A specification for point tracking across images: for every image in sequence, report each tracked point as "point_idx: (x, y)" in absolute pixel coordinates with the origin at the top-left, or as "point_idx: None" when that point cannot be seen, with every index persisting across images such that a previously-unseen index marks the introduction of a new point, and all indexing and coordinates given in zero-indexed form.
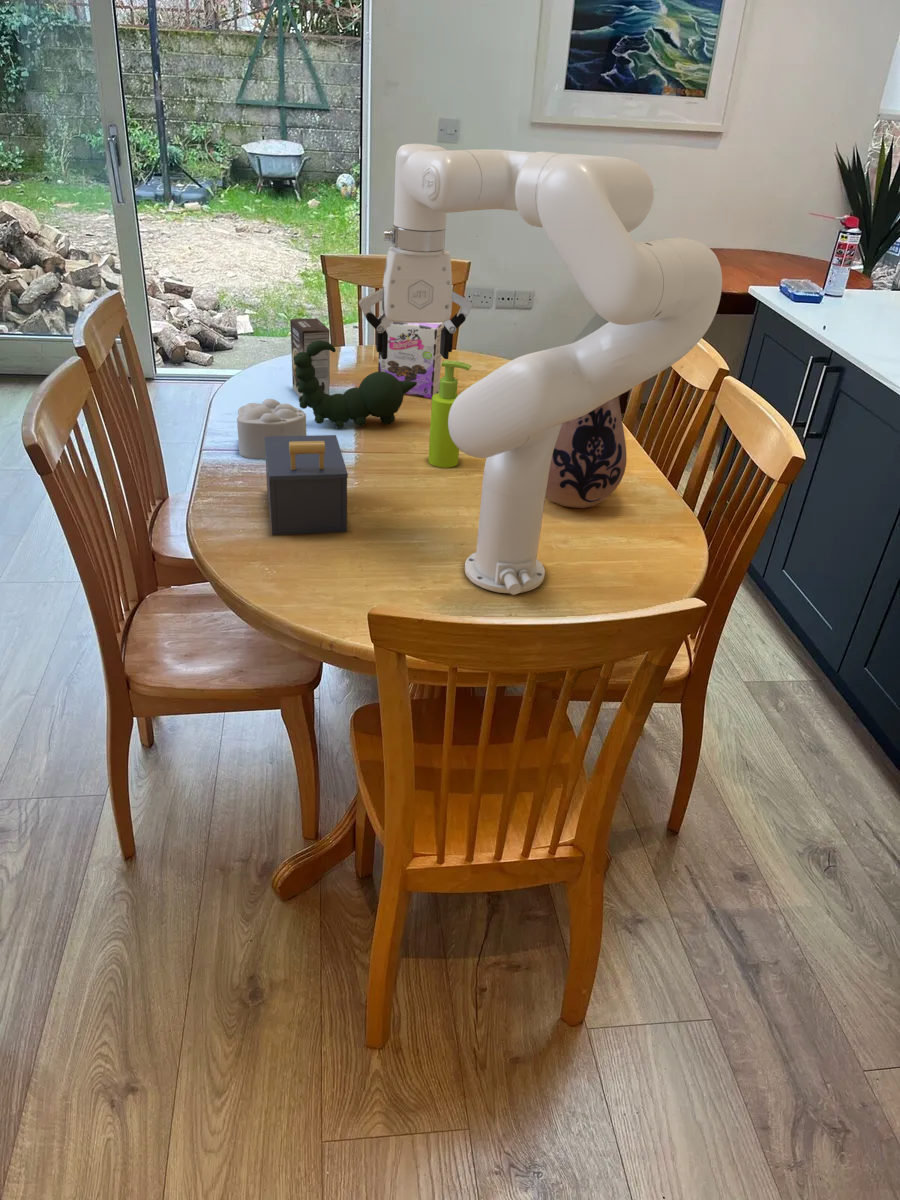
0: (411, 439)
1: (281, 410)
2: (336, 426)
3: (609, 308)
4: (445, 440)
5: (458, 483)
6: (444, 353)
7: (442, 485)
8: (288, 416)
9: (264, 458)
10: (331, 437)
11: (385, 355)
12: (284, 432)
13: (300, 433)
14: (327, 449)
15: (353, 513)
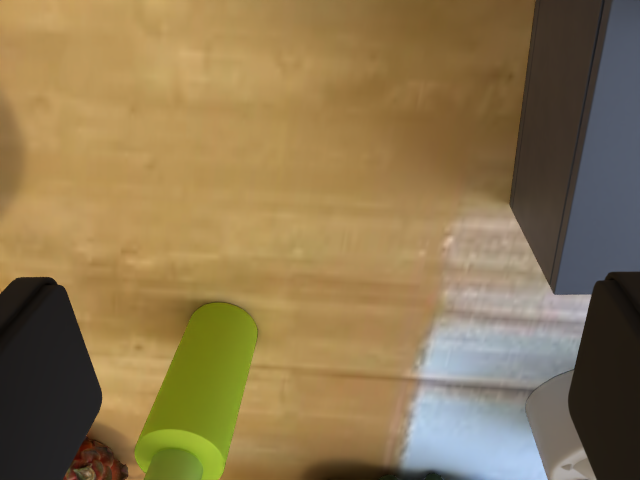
0: (284, 425)
1: None
2: (441, 477)
3: None
4: (208, 348)
5: (194, 226)
6: (34, 307)
7: (235, 218)
8: None
9: None
10: (575, 277)
11: (633, 287)
12: None
13: (560, 420)
14: (621, 187)
15: (494, 76)
